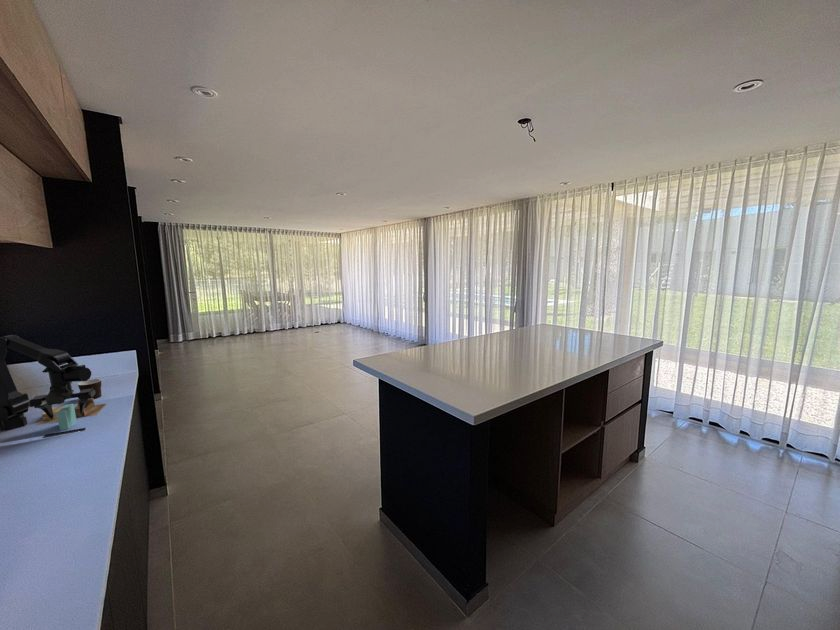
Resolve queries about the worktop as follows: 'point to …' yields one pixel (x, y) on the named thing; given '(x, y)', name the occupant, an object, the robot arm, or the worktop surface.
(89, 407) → the walnut rack
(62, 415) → the teal rectangular block
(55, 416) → the oak offcut lower
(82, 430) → the charcoal mat
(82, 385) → the coffee mug
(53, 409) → the oak offcut upper
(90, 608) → the worktop surface
